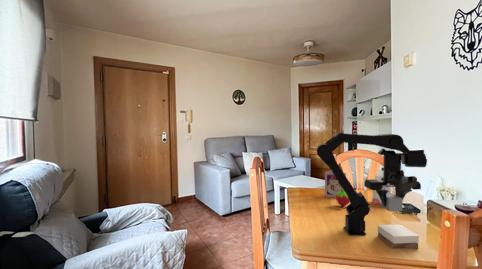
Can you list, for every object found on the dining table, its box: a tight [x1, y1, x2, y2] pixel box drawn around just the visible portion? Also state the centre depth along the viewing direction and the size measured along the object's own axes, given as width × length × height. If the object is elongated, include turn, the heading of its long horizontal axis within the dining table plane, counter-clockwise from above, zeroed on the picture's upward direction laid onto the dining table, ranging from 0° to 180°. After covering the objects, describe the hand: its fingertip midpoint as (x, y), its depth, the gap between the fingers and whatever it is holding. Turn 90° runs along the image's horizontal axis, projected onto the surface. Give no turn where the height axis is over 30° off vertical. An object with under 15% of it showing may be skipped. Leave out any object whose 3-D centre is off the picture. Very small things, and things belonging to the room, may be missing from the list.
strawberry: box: [335, 188, 350, 207], centre depth 122 cm, size 6×7×10 cm
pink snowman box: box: [324, 170, 347, 198], centre depth 140 cm, size 11×7×15 cm, turn 67°
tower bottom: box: [377, 231, 419, 250], centre depth 86 cm, size 9×9×2 cm
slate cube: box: [380, 193, 404, 212], centre depth 90 cm, size 5×5×5 cm
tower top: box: [377, 224, 420, 244], centre depth 86 cm, size 9×9×2 cm
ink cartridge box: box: [371, 175, 393, 206], centre depth 124 cm, size 9×5×15 cm, turn 47°
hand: (391, 206), depth 90 cm, fingers closed on slate cube, 5 cm apart
